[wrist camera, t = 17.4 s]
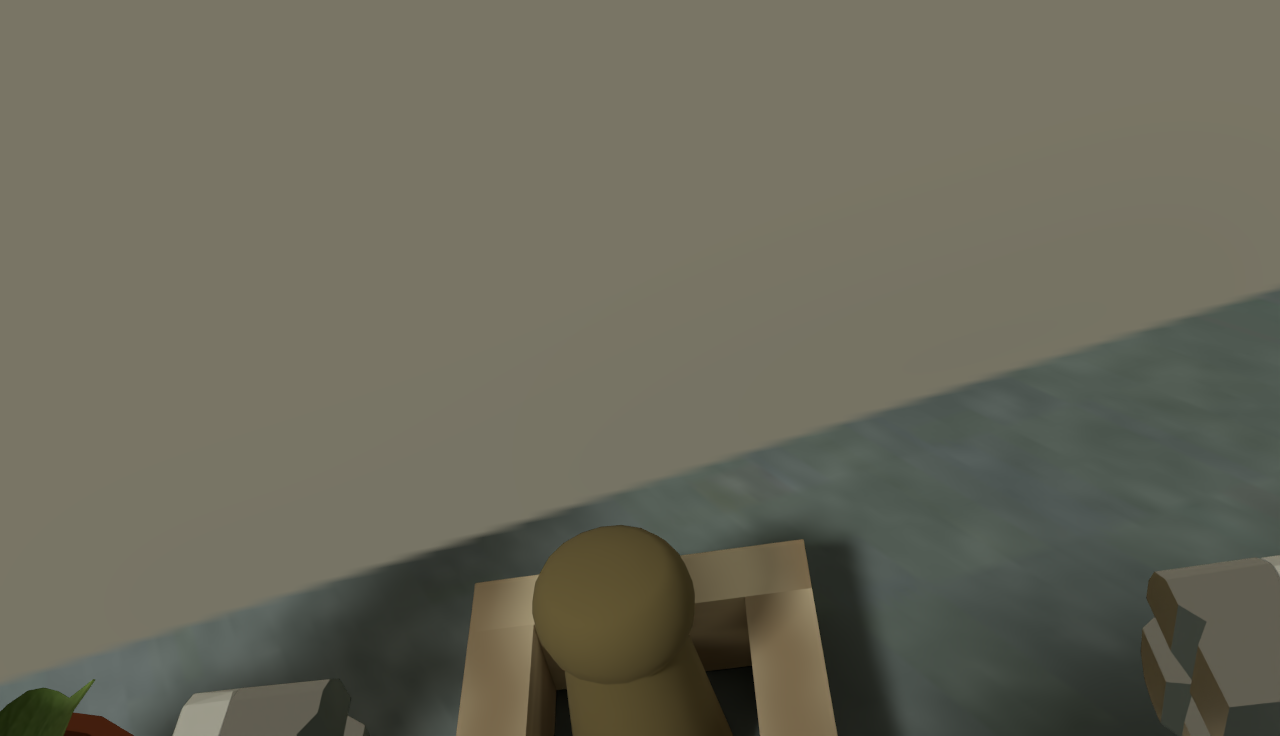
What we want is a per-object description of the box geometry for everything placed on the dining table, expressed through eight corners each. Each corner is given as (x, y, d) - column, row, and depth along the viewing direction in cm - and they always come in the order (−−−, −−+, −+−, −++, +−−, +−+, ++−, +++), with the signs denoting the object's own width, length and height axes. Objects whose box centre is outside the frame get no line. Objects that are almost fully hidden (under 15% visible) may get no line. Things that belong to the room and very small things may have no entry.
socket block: (812, 607, 48) (803, 539, 46) (865, 920, 38) (857, 853, 36) (499, 648, 49) (475, 583, 47) (469, 961, 39) (435, 899, 37)
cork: (574, 718, 46) (507, 517, 39) (727, 688, 46) (686, 481, 39) (584, 863, 41) (509, 660, 35) (756, 830, 41) (713, 620, 34)
